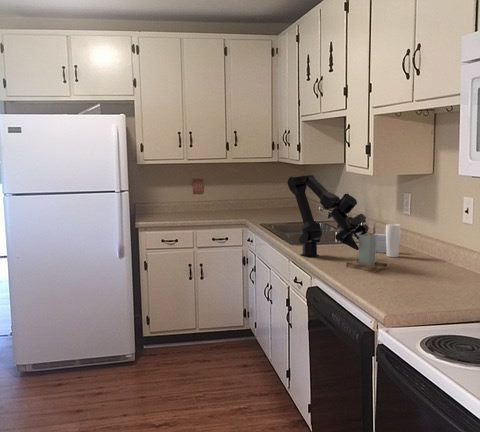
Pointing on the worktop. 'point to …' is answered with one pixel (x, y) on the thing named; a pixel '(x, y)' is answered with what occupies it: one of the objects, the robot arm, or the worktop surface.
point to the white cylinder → (393, 239)
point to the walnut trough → (367, 266)
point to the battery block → (367, 249)
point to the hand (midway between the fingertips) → (363, 248)
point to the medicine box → (380, 243)
